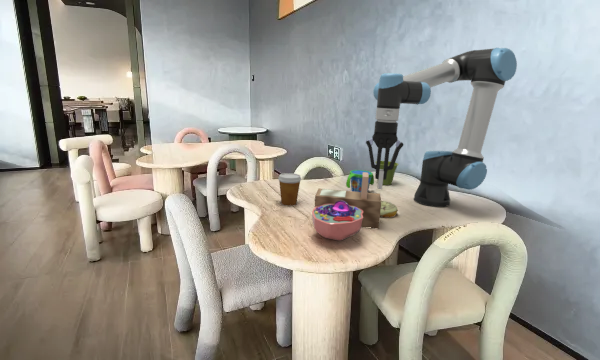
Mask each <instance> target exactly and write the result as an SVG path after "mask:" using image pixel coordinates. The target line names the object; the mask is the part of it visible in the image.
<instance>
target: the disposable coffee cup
mask: <svg viewBox="0 0 600 360" xmlns="http://www.w3.org/2000/svg"><path fill="white" fill-rule="evenodd" d="M277 179H278V182H279V190H280V191H279V193H280V203H281V205H283V206H288V207H289V206H290V207H291V206H295V205H297V202H298V196H299V191H300V184H301V181H302V177H301V175H300V174H298V173H291V172H290V173H289V172H288V173H287V172H284V173H280V174H279V176H278V177H277Z"/></svg>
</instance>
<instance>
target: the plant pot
mask: <svg viewBox="0 0 600 360" xmlns="http://www.w3.org/2000/svg"><path fill="white" fill-rule="evenodd" d="M390 162H391V160H390V161H389V160H388V166H389V165H390ZM376 163H377V160H376V161H374V164H376ZM398 166H399V163H397V162H395V164H394V167H393V169H392V170H388V171H387V177H386V180H383V184H382V186H391V185H392V183H393V179H394V177H395V174H396V170H397V168H398ZM380 169H382V170H383V169H384V160H381V163H380ZM376 180H377V181H378V179H376Z"/></svg>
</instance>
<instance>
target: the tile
mask: <svg viewBox="0 0 600 360" xmlns="http://www.w3.org/2000/svg"><path fill="white" fill-rule="evenodd" d="M368 179H369V175H368V173H367V172H363V174H362V185H361V199H367V193H368V192H367V190H368V191H369V189H368Z"/></svg>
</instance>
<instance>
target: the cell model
mask: <svg viewBox="0 0 600 360" xmlns="http://www.w3.org/2000/svg"><path fill="white" fill-rule="evenodd" d="M311 218H312V219H311V220H312V224H313V227H314V230H315V231H316V232H317V233H318V234H319V235H320V236H322V237H323V238H325V239H329V240H334V241H341V242H342V241H344V240H345V239H348V238H350V237H353V236H355V235H356V234H357V233H358V232H360V231H361V229H362V228H363V227H362V220H363V210H362V209H360V208H358V207H355V206H350V205H349V204H348V203H347V202H345V201H337V202H335V204H323V205H320V206H316V207H315V206H314V208H313V209H312V211H311Z"/></svg>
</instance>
